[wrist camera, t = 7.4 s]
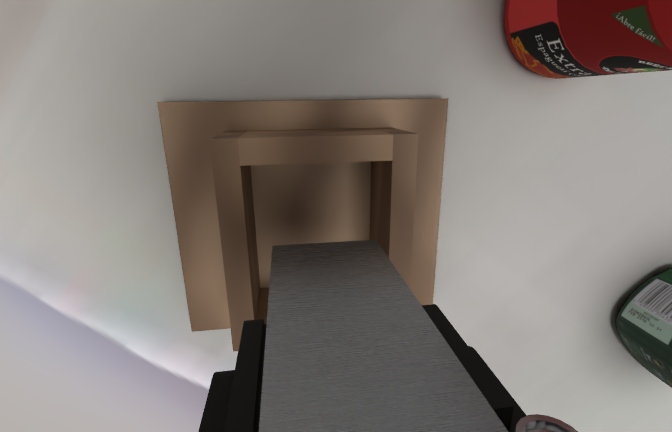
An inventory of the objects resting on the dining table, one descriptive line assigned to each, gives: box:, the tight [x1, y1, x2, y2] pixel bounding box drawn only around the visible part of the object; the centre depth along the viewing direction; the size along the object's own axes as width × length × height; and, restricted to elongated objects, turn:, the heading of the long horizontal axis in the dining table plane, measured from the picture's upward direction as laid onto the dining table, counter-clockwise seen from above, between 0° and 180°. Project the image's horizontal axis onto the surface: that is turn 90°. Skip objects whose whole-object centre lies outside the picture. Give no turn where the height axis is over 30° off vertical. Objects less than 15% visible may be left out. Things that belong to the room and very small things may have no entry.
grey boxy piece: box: [259, 239, 508, 432], centre depth 9 cm, size 4×6×12 cm, turn 1°
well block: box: [158, 99, 448, 351], centre depth 21 cm, size 16×14×6 cm
